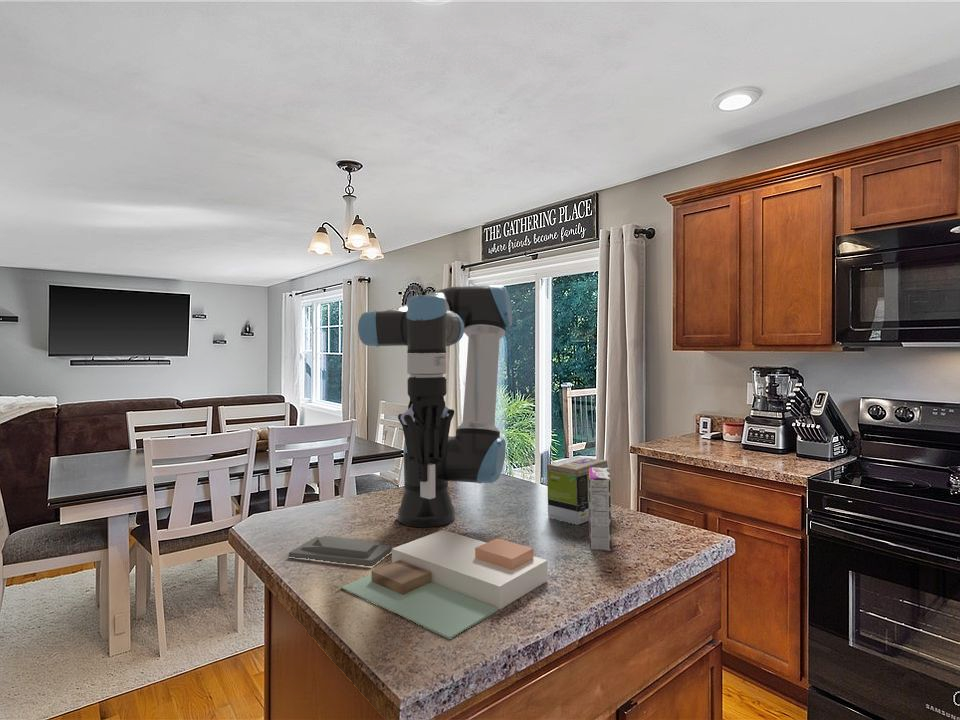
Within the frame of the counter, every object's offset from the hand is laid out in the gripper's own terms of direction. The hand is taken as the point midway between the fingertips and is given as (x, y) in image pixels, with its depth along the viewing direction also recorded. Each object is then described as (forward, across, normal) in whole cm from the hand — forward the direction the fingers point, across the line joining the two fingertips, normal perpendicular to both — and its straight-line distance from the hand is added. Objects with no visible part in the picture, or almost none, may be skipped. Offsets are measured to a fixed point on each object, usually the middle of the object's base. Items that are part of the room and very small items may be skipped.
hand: (427, 497), depth 104 cm
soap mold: (+17, -4, +24) cm, 29 cm away
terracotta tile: (+12, +10, -11) cm, 19 cm away
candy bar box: (+17, +40, -15) cm, 46 cm away
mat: (+16, -7, -4) cm, 18 cm away
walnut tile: (+16, -5, +2) cm, 17 cm away
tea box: (+17, +55, 0) cm, 57 cm away
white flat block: (+16, +7, -4) cm, 18 cm away
